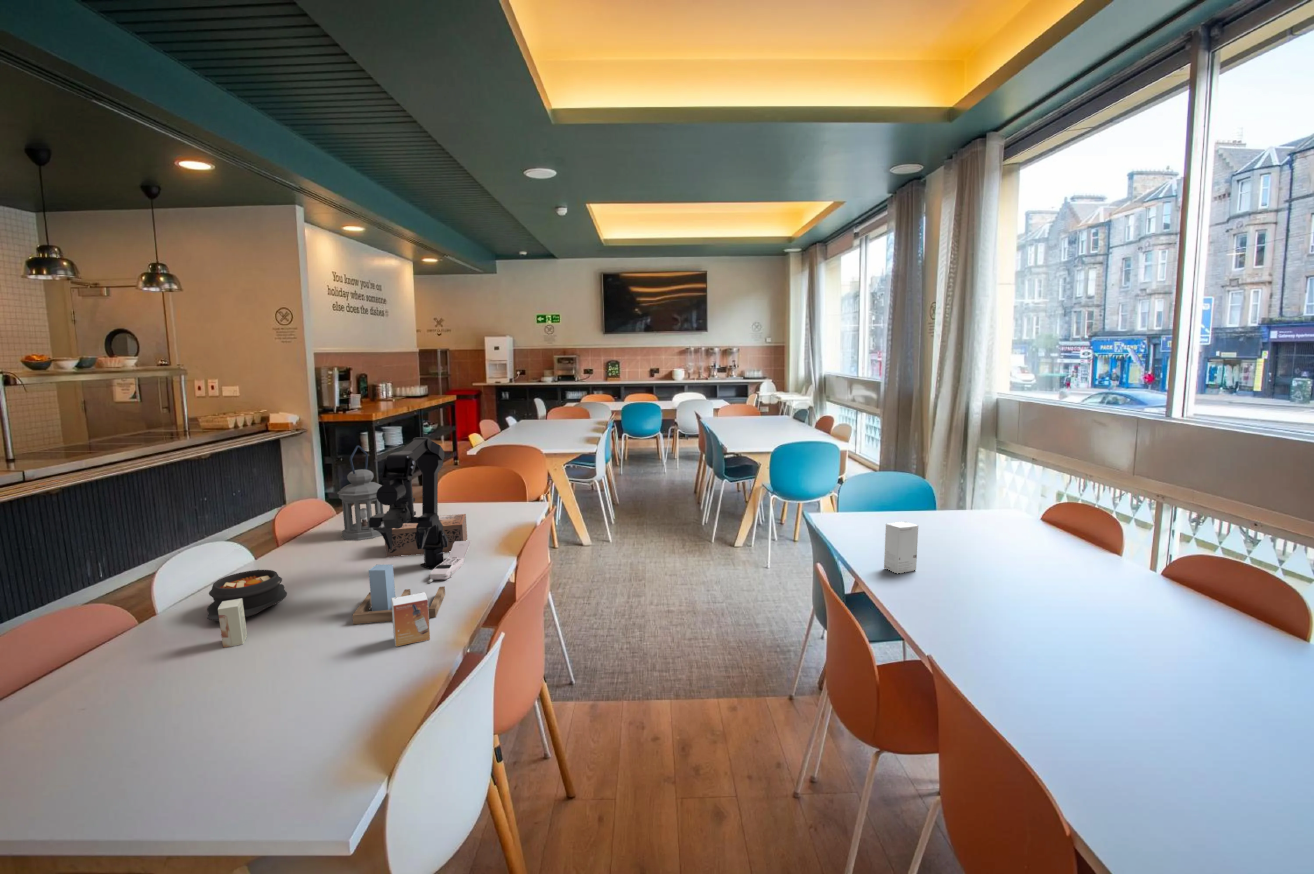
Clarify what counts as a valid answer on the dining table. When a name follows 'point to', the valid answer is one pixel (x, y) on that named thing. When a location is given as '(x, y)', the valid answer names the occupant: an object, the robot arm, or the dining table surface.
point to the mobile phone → (451, 561)
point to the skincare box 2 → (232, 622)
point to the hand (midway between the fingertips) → (406, 548)
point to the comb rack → (386, 615)
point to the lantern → (356, 494)
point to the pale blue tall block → (381, 587)
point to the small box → (410, 619)
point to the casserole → (247, 591)
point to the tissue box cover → (406, 534)
